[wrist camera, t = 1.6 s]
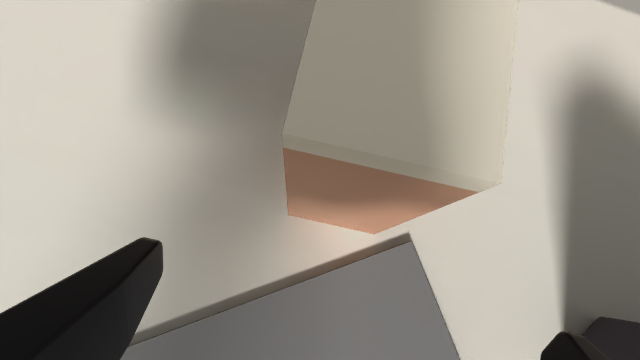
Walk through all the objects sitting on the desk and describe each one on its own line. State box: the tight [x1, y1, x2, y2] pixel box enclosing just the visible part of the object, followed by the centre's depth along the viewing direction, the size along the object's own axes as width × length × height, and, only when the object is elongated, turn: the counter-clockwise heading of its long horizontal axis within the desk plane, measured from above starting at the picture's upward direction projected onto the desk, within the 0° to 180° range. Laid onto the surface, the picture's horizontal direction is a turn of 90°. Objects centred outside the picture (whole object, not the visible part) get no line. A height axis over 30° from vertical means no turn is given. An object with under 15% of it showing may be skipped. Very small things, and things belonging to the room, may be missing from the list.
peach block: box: [282, 0, 519, 234], centre depth 15 cm, size 5×5×13 cm
